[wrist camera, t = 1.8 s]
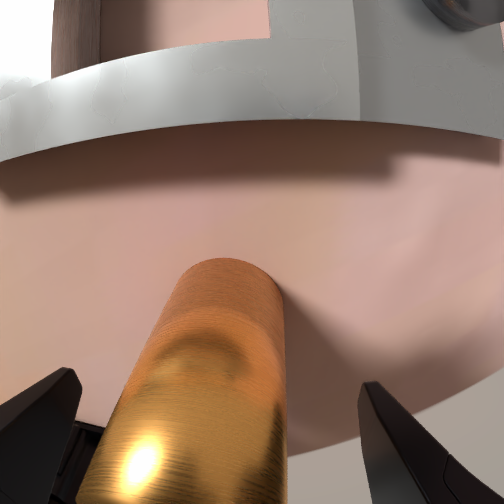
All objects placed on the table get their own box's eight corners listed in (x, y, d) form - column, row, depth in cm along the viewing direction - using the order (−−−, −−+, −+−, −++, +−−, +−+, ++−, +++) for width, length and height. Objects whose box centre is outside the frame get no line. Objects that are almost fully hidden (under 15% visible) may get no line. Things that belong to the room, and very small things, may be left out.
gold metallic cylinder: (283, 351, 13) (283, 561, 5) (182, 349, 14) (120, 539, 5) (283, 257, 12) (293, 516, 3) (164, 258, 12) (36, 468, 4)
